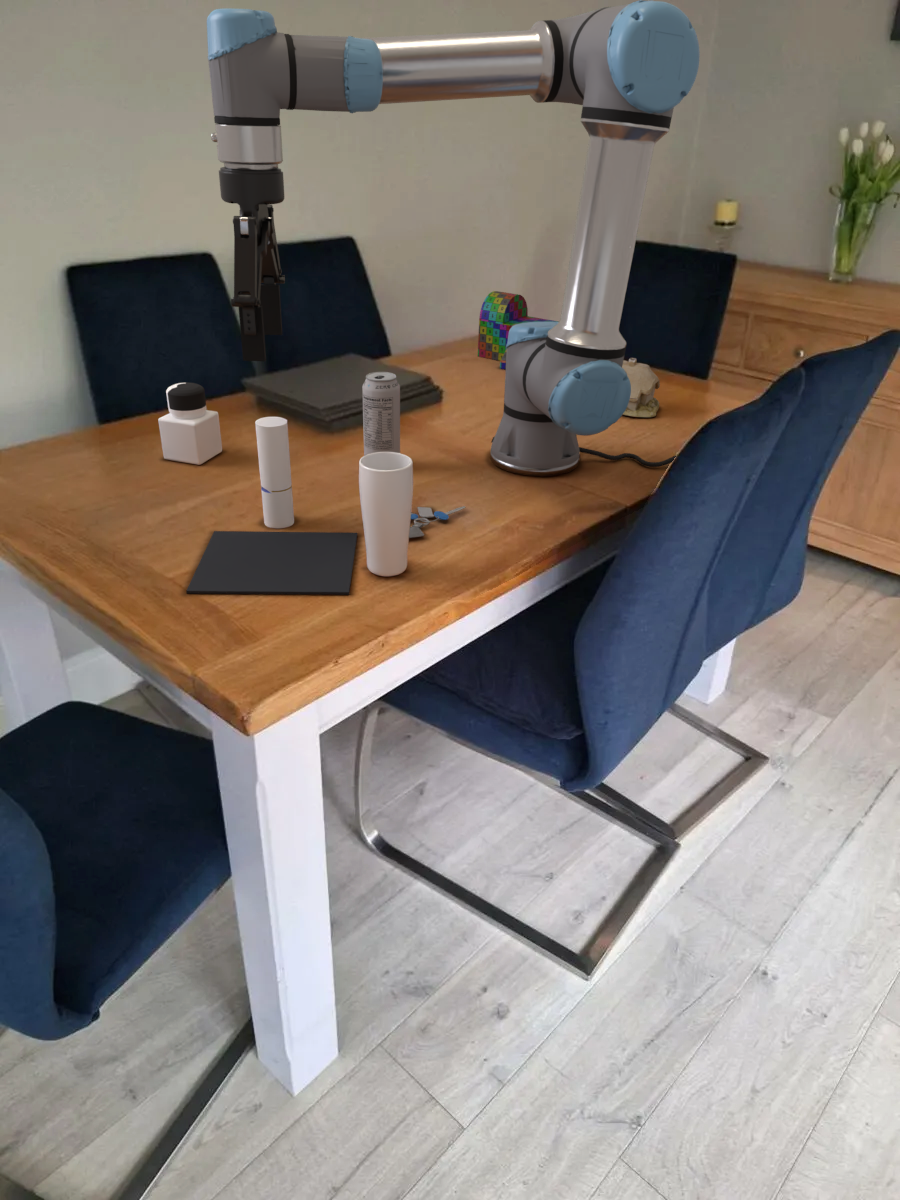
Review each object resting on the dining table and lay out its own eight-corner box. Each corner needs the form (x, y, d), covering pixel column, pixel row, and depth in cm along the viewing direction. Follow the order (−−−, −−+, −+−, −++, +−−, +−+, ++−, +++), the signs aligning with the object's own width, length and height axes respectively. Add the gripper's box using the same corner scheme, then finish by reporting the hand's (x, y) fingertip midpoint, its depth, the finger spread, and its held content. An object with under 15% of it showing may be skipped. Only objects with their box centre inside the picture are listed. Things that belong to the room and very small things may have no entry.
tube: (297, 516, 128) (290, 417, 121) (290, 529, 124) (282, 427, 117) (268, 515, 128) (260, 415, 121) (260, 527, 125) (251, 425, 117)
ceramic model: (668, 407, 178) (676, 358, 173) (648, 422, 170) (655, 370, 165) (604, 394, 185) (610, 347, 180) (582, 408, 176) (587, 358, 171)
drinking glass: (361, 557, 118) (358, 451, 110) (411, 556, 118) (412, 450, 111) (361, 581, 112) (358, 471, 104) (414, 580, 112) (414, 470, 105)
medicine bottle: (223, 451, 150) (215, 382, 144) (200, 465, 144) (191, 394, 138) (187, 445, 152) (178, 377, 146) (163, 459, 146) (152, 388, 140)
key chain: (414, 544, 121) (414, 538, 121) (366, 529, 125) (366, 524, 124) (466, 510, 131) (466, 505, 131) (420, 497, 135) (420, 492, 135)
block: (465, 361, 205) (467, 298, 198) (503, 347, 217) (506, 287, 210) (559, 380, 193) (564, 314, 186) (593, 364, 205) (600, 302, 198)
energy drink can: (406, 462, 148) (406, 374, 141) (389, 473, 143) (388, 383, 136) (375, 455, 150) (373, 368, 143) (357, 467, 146) (355, 377, 138)
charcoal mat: (357, 535, 123) (357, 532, 123) (349, 595, 109) (349, 592, 109) (214, 533, 123) (214, 530, 122) (186, 593, 108) (186, 590, 108)
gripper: (239, 158, 115) (252, 324, 125) (193, 173, 93) (214, 371, 104) (296, 160, 115) (304, 325, 125) (264, 175, 93) (278, 373, 104)
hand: (263, 346), depth 114 cm, fingers open, 13 cm apart
